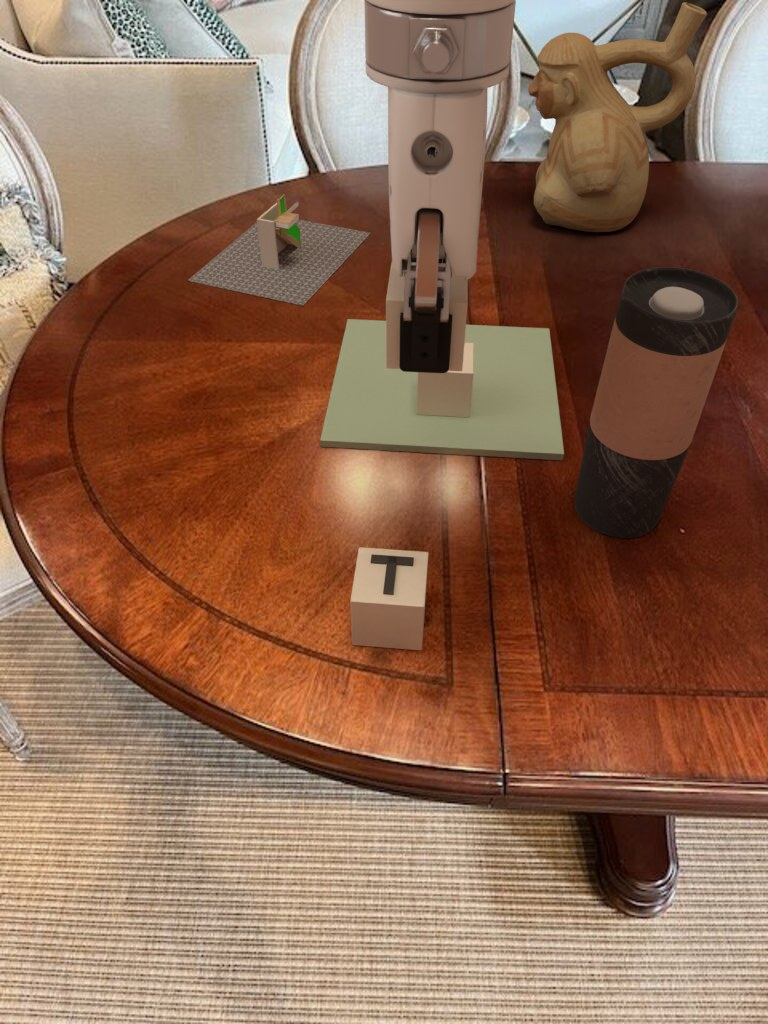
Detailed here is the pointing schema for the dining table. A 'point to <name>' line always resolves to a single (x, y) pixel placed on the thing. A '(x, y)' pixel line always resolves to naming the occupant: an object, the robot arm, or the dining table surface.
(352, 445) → the board
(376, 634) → the tile
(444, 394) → the tile
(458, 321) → the tile
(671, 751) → the dining table surface
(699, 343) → the travel mug
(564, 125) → the ceramic vessel
